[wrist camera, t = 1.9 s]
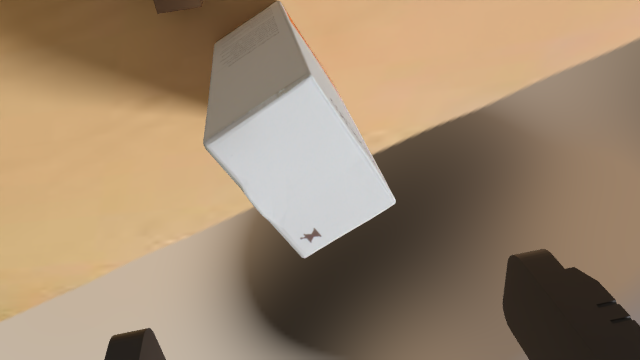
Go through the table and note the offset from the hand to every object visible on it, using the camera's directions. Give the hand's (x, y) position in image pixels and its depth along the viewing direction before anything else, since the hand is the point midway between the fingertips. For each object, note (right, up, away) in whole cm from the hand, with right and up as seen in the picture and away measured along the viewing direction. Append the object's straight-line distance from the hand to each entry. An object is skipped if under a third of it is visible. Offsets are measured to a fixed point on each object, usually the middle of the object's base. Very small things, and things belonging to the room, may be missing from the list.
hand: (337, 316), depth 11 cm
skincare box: (-3, +9, +15) cm, 18 cm away
